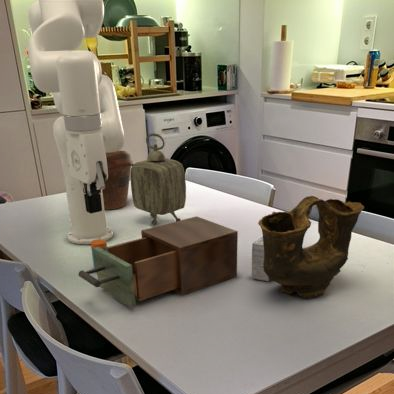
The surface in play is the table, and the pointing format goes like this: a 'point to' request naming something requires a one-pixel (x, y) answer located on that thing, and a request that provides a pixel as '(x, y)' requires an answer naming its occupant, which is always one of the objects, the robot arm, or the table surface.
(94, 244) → the glue stick
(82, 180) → the robot arm
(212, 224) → the cabinet
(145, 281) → the drawer
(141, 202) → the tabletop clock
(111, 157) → the reddish brown pot
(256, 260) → the medicine box
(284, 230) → the pottery vessel
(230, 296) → the table surface
